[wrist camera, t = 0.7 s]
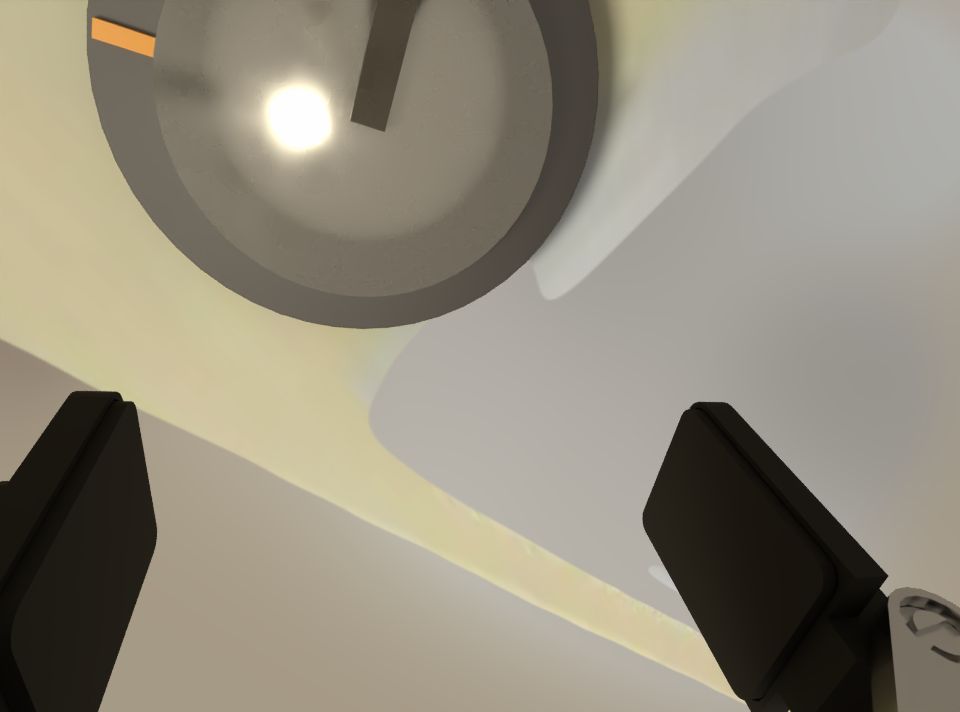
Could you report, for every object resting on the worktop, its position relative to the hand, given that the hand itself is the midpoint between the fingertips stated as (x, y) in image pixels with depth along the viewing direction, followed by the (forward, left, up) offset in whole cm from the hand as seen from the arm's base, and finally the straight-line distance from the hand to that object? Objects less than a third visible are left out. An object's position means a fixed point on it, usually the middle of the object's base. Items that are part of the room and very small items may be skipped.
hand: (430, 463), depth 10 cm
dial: (-1, -1, -23) cm, 23 cm away
